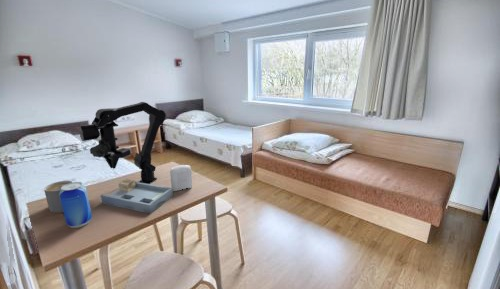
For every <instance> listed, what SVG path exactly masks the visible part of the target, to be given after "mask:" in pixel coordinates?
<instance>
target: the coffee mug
mask: <svg viewBox="0 0 500 289" xmlns="http://www.w3.org/2000/svg"><path fill="white" fill-rule="evenodd" d="M72 182H73V181H72V180H62V181H61V180H60V181H55V182H52V183H50V184H48V185H46V186H44V188H43V191H44V196H45V198H46V202H47V207H48V210H49V212H51V213H54V214H55V213H56V214H58V213H64V212H63V208H62V204H61V200H60V195H59V194H60V191H61V187H62V186H64V185H66V184H68V183H72Z"/></svg>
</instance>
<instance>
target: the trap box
mask: <svg viewBox="0 0 500 289" xmlns="http://www.w3.org/2000/svg"><path fill="white" fill-rule="evenodd" d="M135 185H136V188H135V189H133V190H131V191H130V192H124V191H120V190H119V189H117V190H115V191H113V192H112V193H109V194H108V195H107V194H101V195H100V198H101V199H100V200H101V203H102V204H104V205H109V206H113V207H118V208H122V209H128V210H132V211H136V212H141V213H146V214H152V213H153V212H155V211H156V210H158V208H160V207H161V206H162V205H163V204H165V203H166V202H167V201H168V200H170V199H171V198H173V196H174V193H173V192H174V191H173V190H172V188H171V187H169V186H168V187H167V186H161V185H156V184H151V183H150V184H148V183H143V182H140V181H139V182H138V181H135Z"/></svg>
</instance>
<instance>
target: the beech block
mask: <svg viewBox="0 0 500 289" xmlns="http://www.w3.org/2000/svg"><path fill="white" fill-rule="evenodd" d="M135 182H136V180H135V179H131V178H125V179H123V180H121V181H120V182H118V190H120V191H124V192H130V191H131V190H133V189H135V188H136V185H135Z"/></svg>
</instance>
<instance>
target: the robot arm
mask: <svg viewBox="0 0 500 289" xmlns="http://www.w3.org/2000/svg"><path fill="white" fill-rule="evenodd" d="M141 112H144V113H145V114H147V115H148V122H149V124H148V128H147V132H146V134H145V137H144V141H143V145H142V148H141V150H140V152H139V153H138V152H136V153H135V157H134V159H133V161H134V165H135V167H137V168H139V169H140V180H139V183H145V184H151V183H153V182H154V181H156V180H157V179H158V177H155V171H156V168H157V167H156V166H155V165H153V164H152V151H153V147H154V144H155V141H156V138H157V134H158V131H159V129H160V127H161V126H162V125H163V124H164V121H165V120H166V117H167V114H166V112H165V111H164V110H163V109H160V108H156V107H154V106H152V105H151V104H149V103H148V102H146V101H140V102H138V103H133V104H130V105H125V106H122V107H115V108H114V107H113V108H111V107H110V108H99V109H98V110H96V112H95V117H94V118H93V120H92V122H91V124H90V123H89V124H80V125H79V132H78V134H79V137H80V140H81V141H82V142H87V141H92V140H97V139H98V144H97V145H95V146H92V147H90V149H89V152H90V154H91V155H92V156H93V157H94V158H95V157H96V158H103V159H104V160H105V161H106V163H107V165H108V166H109V167H110V169H113V170H114V169H116V167H117V164H118V162H119V159H122V158H125V157H128V156H130V155H131V154H132V153H131V149H130V148H124V147H122V148H120V147H119V145H117V141H118V137H116V133H115V129H114V128H115V127H118V126H119V124H117V123H116V122H115V121H116V120H118V119H119V118H122V117H126V116H129V115H132V114H137V113H141ZM99 138H100V139H99Z"/></svg>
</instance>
